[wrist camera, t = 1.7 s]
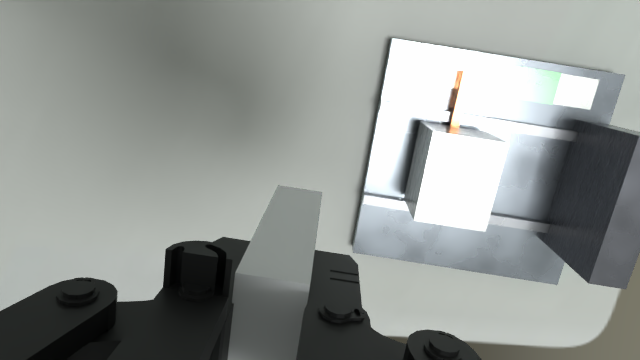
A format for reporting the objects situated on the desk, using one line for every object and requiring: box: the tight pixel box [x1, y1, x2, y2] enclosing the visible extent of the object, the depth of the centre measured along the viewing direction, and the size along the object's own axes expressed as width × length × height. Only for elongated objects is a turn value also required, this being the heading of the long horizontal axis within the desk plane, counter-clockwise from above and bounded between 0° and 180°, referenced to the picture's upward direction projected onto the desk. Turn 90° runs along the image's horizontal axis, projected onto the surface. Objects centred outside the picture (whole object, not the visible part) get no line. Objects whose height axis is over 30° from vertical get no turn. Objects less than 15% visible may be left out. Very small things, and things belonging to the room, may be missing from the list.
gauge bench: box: [352, 38, 640, 289], centre depth 26 cm, size 14×14×7 cm
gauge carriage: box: [404, 70, 509, 232], centre depth 26 cm, size 8×4×4 cm, turn 171°
